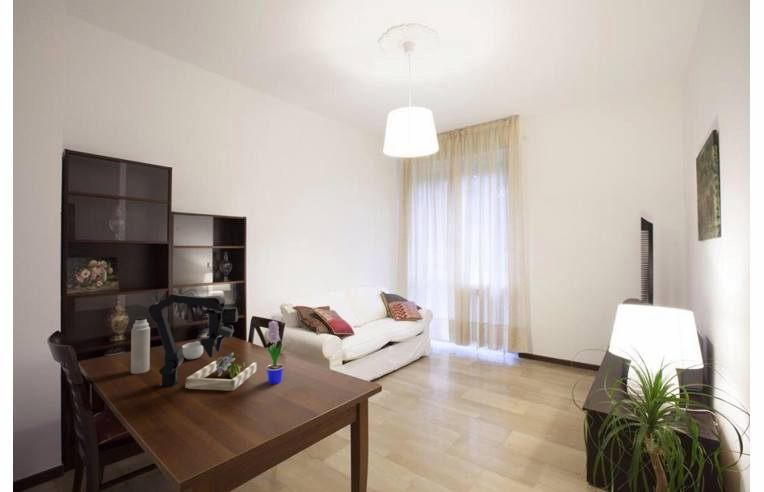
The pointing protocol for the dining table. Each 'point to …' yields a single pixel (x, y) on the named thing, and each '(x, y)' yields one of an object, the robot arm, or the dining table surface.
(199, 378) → the pale wooden open frame
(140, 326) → the thermos bottle
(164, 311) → the robot arm
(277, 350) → the hyacinth
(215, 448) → the dining table surface
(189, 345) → the teacup
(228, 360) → the passion flower
